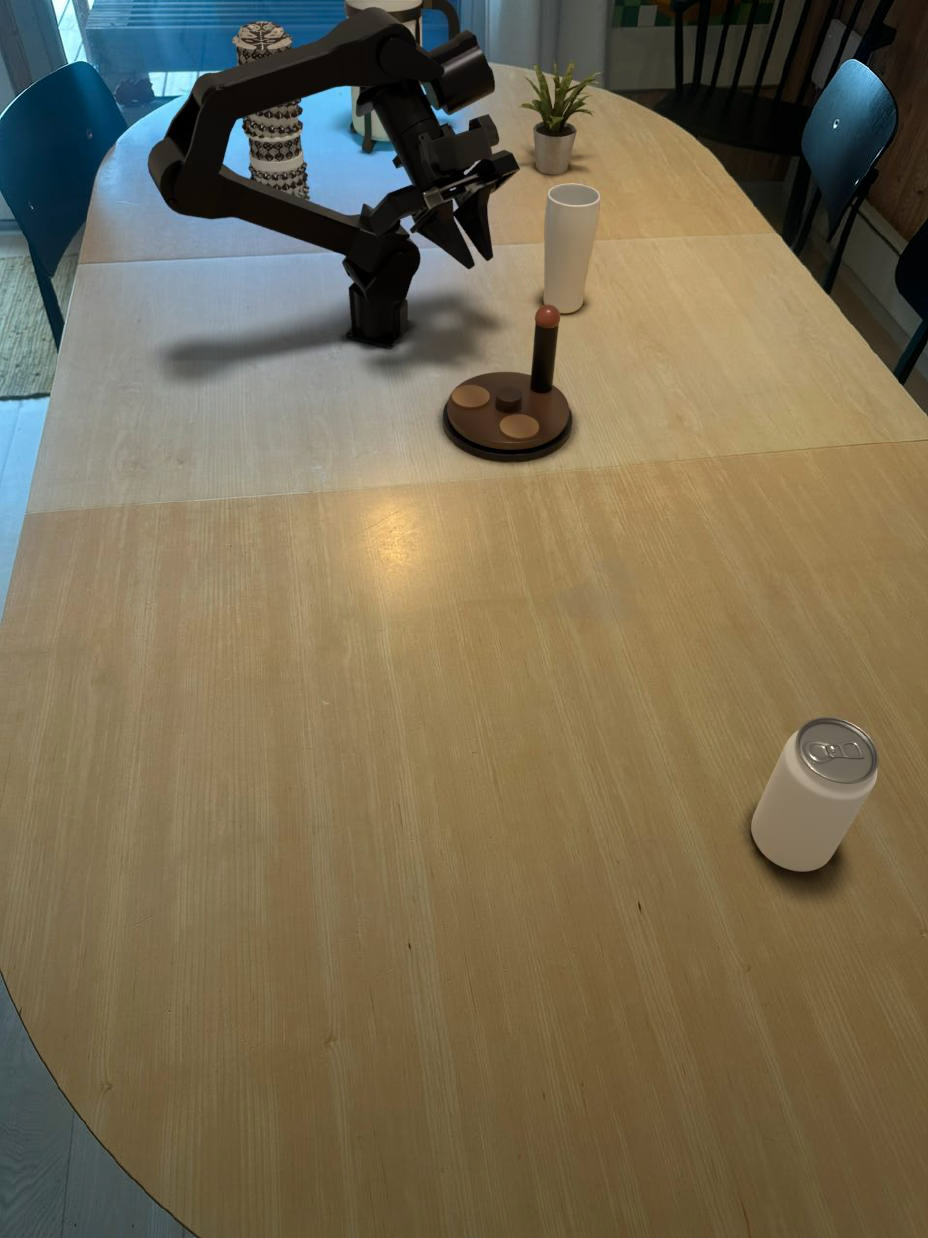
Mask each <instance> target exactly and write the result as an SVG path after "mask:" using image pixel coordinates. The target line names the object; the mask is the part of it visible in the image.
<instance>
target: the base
mask: <svg viewBox="0 0 928 1238" xmlns="http://www.w3.org/2000/svg"><path fill="white" fill-rule="evenodd" d="M447 404H448V400H447V401H446V402H445V405H444V407H443V410H442V411H443V413H442V426H443V429H444V432H445V434H446V435H447V437H448V438H449V439H450V441H451V442H452V443H453V444H454V445H455V446H457V447H458V448H459V449H460V450H462V451H463V452H466V453H467V454H470V455H473V456H474V457H477V458H480V459H484V460H488V461H493V462H501V463H522V462H529V461H534V460H538V459H540V458H545V457H546V456H548V455H551V454H552V453H554V452H556V451H557V450H559V449H560V448H562V447H563V445H564V444H565V443H566V442H567V441H568V439H569V438H570V436H571V433H572V430H573V429H572V428H573V421H574V420H573V414H572V410H571V408H570V407H569V419H568V423H567V425H566V427H565V429H564V430H563V431H562V433H561V434H559V435H558V436H557V437H556V438H554V439H553V440H551V441H549V442H548V443H545V444H543V445H540V446H537V447H533V448H528V449H520V450H503V449H495V448H490V447H486V446H482V445H479V444H476V443H474V442H472V441H470V440H468V439H466V438H465V437H463V436H462V435H460V434H459V433H458V432H457V431H456V430H455V429H454V428H453V426H452V425H451V423H450V421H449V418H448V414H447Z"/></svg>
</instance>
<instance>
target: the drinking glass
mask: <svg viewBox="0 0 928 1238" xmlns="http://www.w3.org/2000/svg"><path fill="white" fill-rule="evenodd" d="M544 210H545V211H544V224H543V230H544V231H543V241H544V242H543V250H544V253H543V254H544V255H543V256H544V257H543V258H544V260H543V262H544V265H543V273H544V274H543V296H542V297H543V298H542V299H543V300H542V302H543V305H553V306H555V307H556V308H557V309H558V311H559V313H560V314H571V313H575V312H576V311H579V310H580V309H581V308H582V306H583V303H584V296H585V290H586V285H587V279H588V275H589V270H590V265H591V261H592V256H593V251H594V247H595V241H596V237H597V231H598V226H599V219H600V210H601V194H600V192H599V191H598V190H597V189H596V188H594V187H592V186H590V185H586V184H583V183H575V182H574V183H571V182H570V183H569V182H568V183H561V184H556V185H554V186H552V187H551V188H550V189H549V190H548V191H547V194H546V203H545V209H544Z"/></svg>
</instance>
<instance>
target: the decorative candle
mask: <svg viewBox="0 0 928 1238" xmlns="http://www.w3.org/2000/svg"><path fill="white" fill-rule="evenodd" d="M238 30H239V31H238V33H237V35H235V36H233V38H232V41H231V42H232V43H233V45H234V46H235V49H236V50H235V51H236V53H235V54H236V58H237V64H236V66H239V65H242V64H245V63H248V62H252V61H255V60H258V59H261V58H264V57H267V56H270V55H274V54H277V53H280V52H283V51H286V50H289V49H292V48H293V47H292V43H293V40H294V38H293V37H292V36H291V35H290V34H288V33H287V32H286V31H285V29H284V28H283V26H281V25H280V24H279V23H275V22H272V21H252V22H248V23H245V24H244V25H242V26H241V27H240V29H238ZM300 103H302V99H299V100H296V101H293V102H290V103H287V104H283V105H280V106H277V107H274V108H271V109H268V110H265V111H262V112H259V113H256V114H253V115H250V116H247V117H244V118H241V119H242V125H241V128H242V130H243V133H244V135H245V136H246V137H247V138H248V147H249V152H248V155H249V156H248V159H249V165H248V167H247V169H248V171H249V172H250V177H249V179H251V180H254V181H257V182H259V183H262V184H265V185H267V186H270V187H273V188H275V189H278V190H281V191H283V192H286V193H289V194H291V195H294V196H297V197H299V198H302V199H305V200H307V201H310V200H311V196H310V195H309V193H310V191H309V190H310V185H308V184H307V181H308V177H309V174H308V173H307V172H306V171H307V166H308V163H307V162H306V161H305V159H304V158H305V157H304V149H303V148H302V138H301V135H302V133H303V129H304V123H303V122H302V120H300V119H299V117H300V116H301V115H302V114H303V111H304V109H303V107H302V106H300V105H299V104H300Z"/></svg>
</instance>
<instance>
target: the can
mask: <svg viewBox="0 0 928 1238" xmlns="http://www.w3.org/2000/svg"><path fill="white" fill-rule="evenodd" d="M879 754H880V753H879V750H878V748H877V745H876V743H875V742H874V740H873V738H872V737H870V735H869V734H868V733H867V732H866V731H865V730H864V729H863V728H861V727H859V726H858V725H856V724H855V723H853V722H850V721H849V720H846V719H843V718H839V717H834V716H819V717H815V718H811V719H810V720H808V721H806V722H805V723H803V724H802V725H801V726H800V728H799V729H797V730H796V731H794V732H793V733H792V734H791V736H790V737H789V738H788V740H787V741H786V743H785V745H784V747H783V749H782V751H781V753H780V756H779V757H778V760H777V762H776V764H775V767H774V768H773V770H772V773H771V775H770V777H769V780H768V782H767V784H766V785H765V788H764V790H763V793H762V795H761V797H760V799H759V802H758V804H757V806H756V808H755V811H754V813H753V816H752V820H751V823H750V830H751V835H752V839H753V840H754V842H755V845H756V846H757V848H758V849H759V851H760V852H761V854H763V855H764V856H765V858H767V860H769V861H771V862H772V863H773V864H775V865H777V866H779V867H781V868H783V869H786V870H789V871H793V872H812V871H815V870H818V869H820V868H822V867H823V866H825V865H826V864H827V863H828V862H829V861H830V860H831V859H832V857H833V856H834V854H835V853H836V851H837V849H838V848H839V846H840V844H841V843H842V841H843V840H844V838H845V836H846V834H847V833H848V832H849V829H850V828H851V826H852V824H853V823H854V821H855V820H856V818H857V817H858V815H859V813H860V811H861V809H862V808H863V806H864V804H865V802H866V801H867V799H868V798H869V796H870V794H871V793H872V792H873V791H872V790H873V789H874V787H875V785H876V782H877V778H878V767H879V762H880V756H879Z"/></svg>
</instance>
